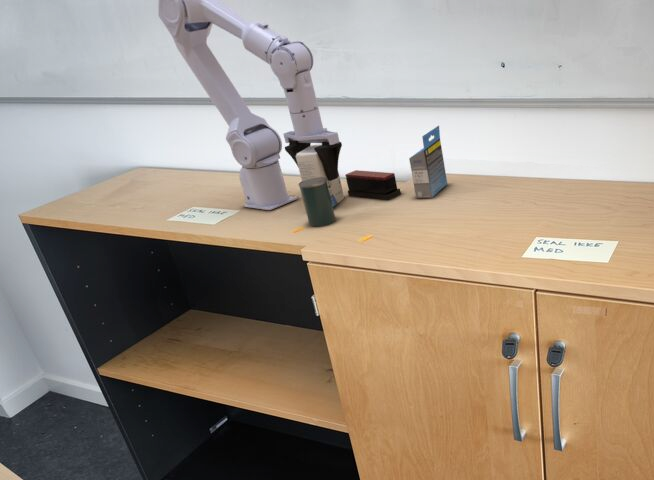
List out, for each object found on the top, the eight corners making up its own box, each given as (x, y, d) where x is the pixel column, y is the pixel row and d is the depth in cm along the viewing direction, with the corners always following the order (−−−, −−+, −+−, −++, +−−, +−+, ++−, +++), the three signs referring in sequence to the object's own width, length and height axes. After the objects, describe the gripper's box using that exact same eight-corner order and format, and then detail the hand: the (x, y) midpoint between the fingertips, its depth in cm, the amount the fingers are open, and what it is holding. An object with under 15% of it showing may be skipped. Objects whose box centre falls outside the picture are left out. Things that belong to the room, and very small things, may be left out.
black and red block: (348, 196, 148) (343, 175, 146) (361, 190, 150) (356, 169, 148) (388, 200, 141) (384, 178, 139) (401, 194, 143) (397, 172, 141)
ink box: (330, 210, 140) (316, 153, 134) (308, 212, 141) (294, 155, 136) (345, 197, 147) (333, 142, 141) (324, 198, 148) (311, 144, 143)
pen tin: (303, 225, 134) (292, 184, 130) (323, 216, 138) (313, 176, 133) (321, 228, 131) (311, 186, 127) (341, 218, 134) (332, 178, 130)
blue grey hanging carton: (431, 185, 146) (422, 126, 140) (448, 184, 145) (439, 125, 139) (415, 198, 139) (404, 137, 133) (432, 198, 138) (422, 136, 132)
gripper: (343, 105, 133) (358, 174, 140) (295, 105, 141) (312, 170, 148) (316, 113, 128) (333, 184, 135) (269, 113, 137) (287, 180, 144)
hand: (320, 178), depth 141 cm, fingers open, 7 cm apart
